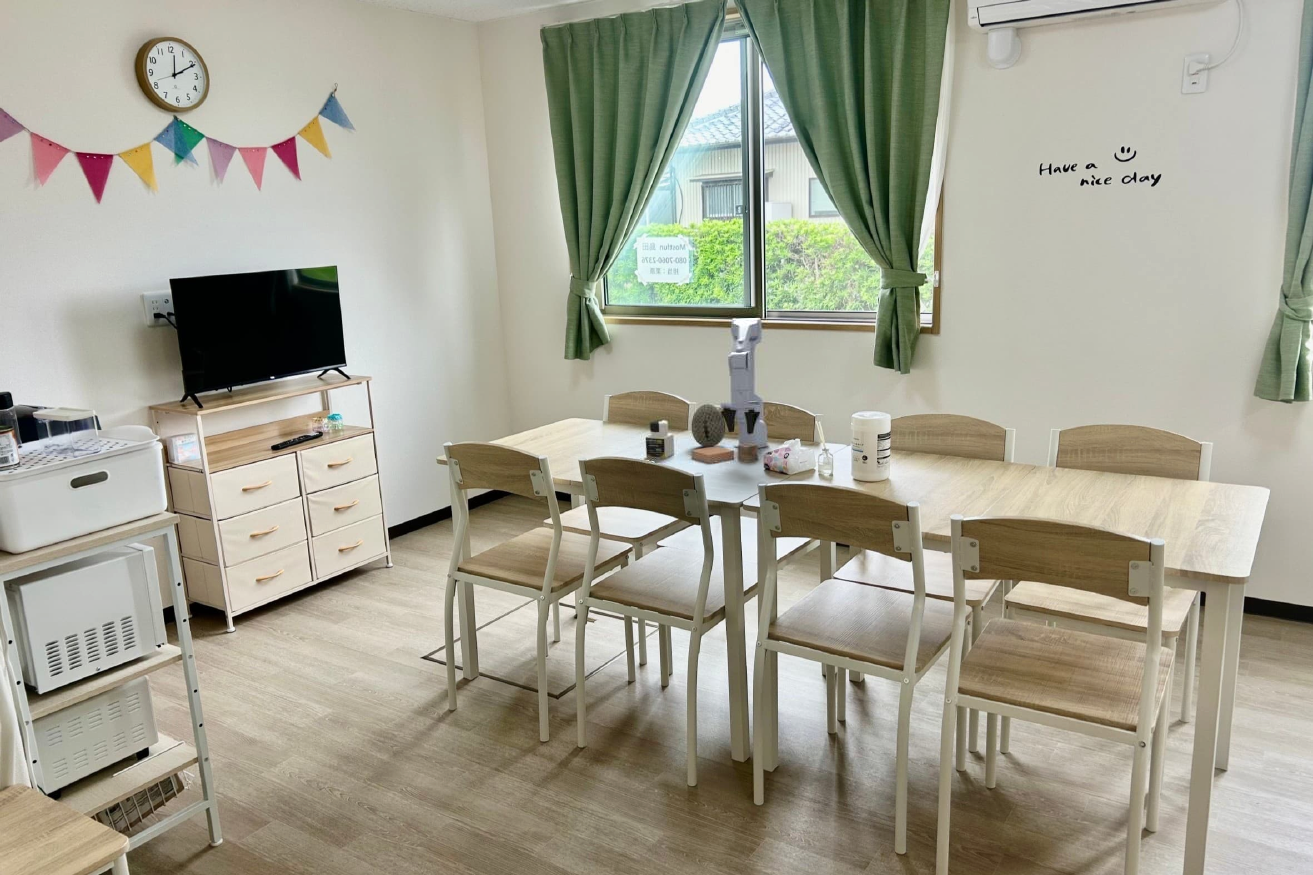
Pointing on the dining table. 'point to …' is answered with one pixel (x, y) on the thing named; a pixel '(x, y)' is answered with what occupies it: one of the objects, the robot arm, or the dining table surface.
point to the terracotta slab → (712, 454)
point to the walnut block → (748, 452)
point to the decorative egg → (708, 426)
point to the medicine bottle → (659, 440)
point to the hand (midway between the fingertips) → (740, 432)
